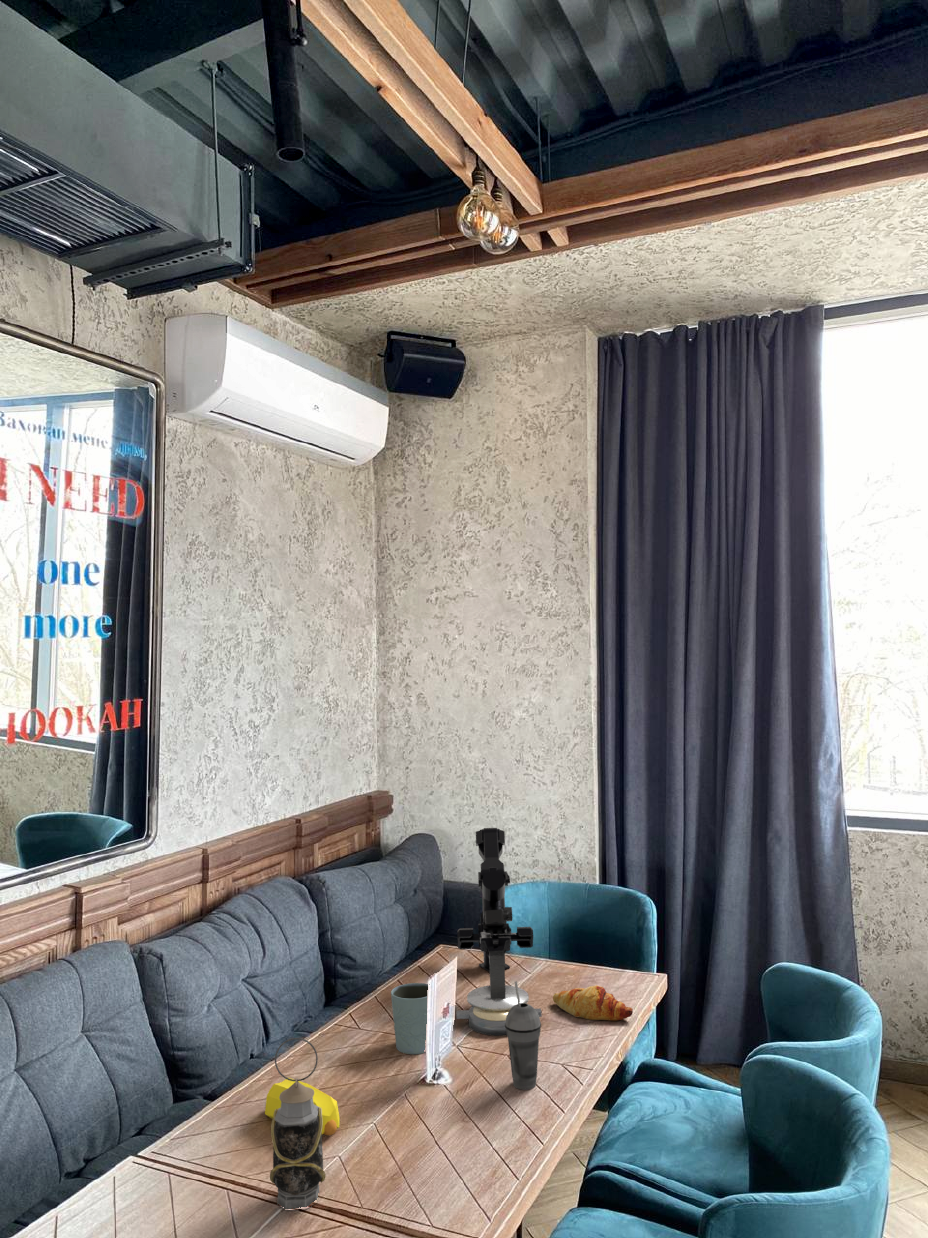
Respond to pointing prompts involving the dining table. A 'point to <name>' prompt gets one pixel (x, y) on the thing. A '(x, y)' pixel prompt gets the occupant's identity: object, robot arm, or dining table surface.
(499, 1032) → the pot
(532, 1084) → the beverage cup
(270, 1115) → the yellow rounded lump
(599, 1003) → the croissant
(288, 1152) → the lantern
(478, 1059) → the dining table surface
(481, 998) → the disc with square post
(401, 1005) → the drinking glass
